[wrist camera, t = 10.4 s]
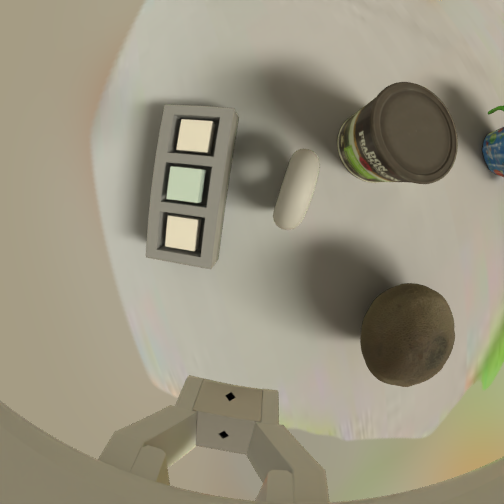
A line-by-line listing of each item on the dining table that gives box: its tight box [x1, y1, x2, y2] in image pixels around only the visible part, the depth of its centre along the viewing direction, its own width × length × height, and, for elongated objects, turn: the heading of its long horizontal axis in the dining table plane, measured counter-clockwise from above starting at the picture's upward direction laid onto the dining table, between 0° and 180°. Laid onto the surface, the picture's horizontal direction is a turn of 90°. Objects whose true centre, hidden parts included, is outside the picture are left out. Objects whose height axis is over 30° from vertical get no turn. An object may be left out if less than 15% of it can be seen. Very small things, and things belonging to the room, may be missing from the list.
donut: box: [273, 149, 320, 230], centre depth 32 cm, size 10×4×10 cm, turn 163°
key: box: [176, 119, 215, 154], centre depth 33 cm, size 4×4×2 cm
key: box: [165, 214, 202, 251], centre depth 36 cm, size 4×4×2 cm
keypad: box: [146, 105, 239, 269], centre depth 35 cm, size 20×9×5 cm, turn 171°
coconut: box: [361, 283, 455, 387], centre depth 33 cm, size 14×14×15 cm
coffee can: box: [337, 82, 458, 184], centre depth 28 cm, size 10×10×14 cm
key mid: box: [166, 166, 206, 203], centre depth 33 cm, size 4×4×2 cm
